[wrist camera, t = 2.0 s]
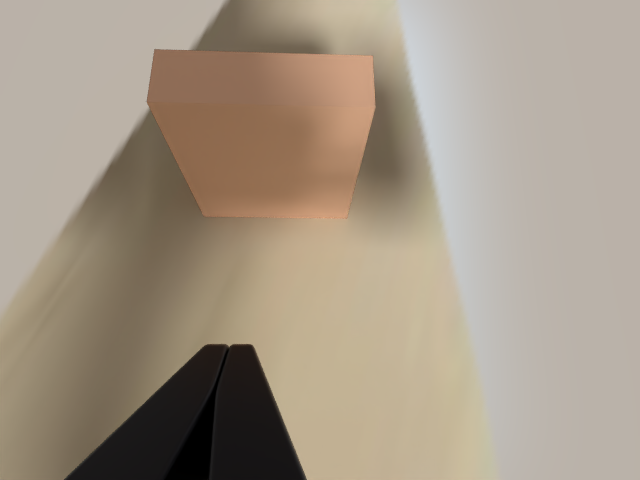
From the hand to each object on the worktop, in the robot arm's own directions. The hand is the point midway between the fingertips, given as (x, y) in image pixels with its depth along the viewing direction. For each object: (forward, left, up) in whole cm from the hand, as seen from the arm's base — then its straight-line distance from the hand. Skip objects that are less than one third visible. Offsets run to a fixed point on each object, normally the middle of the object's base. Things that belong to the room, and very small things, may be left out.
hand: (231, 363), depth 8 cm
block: (+9, 0, -12) cm, 15 cm away
